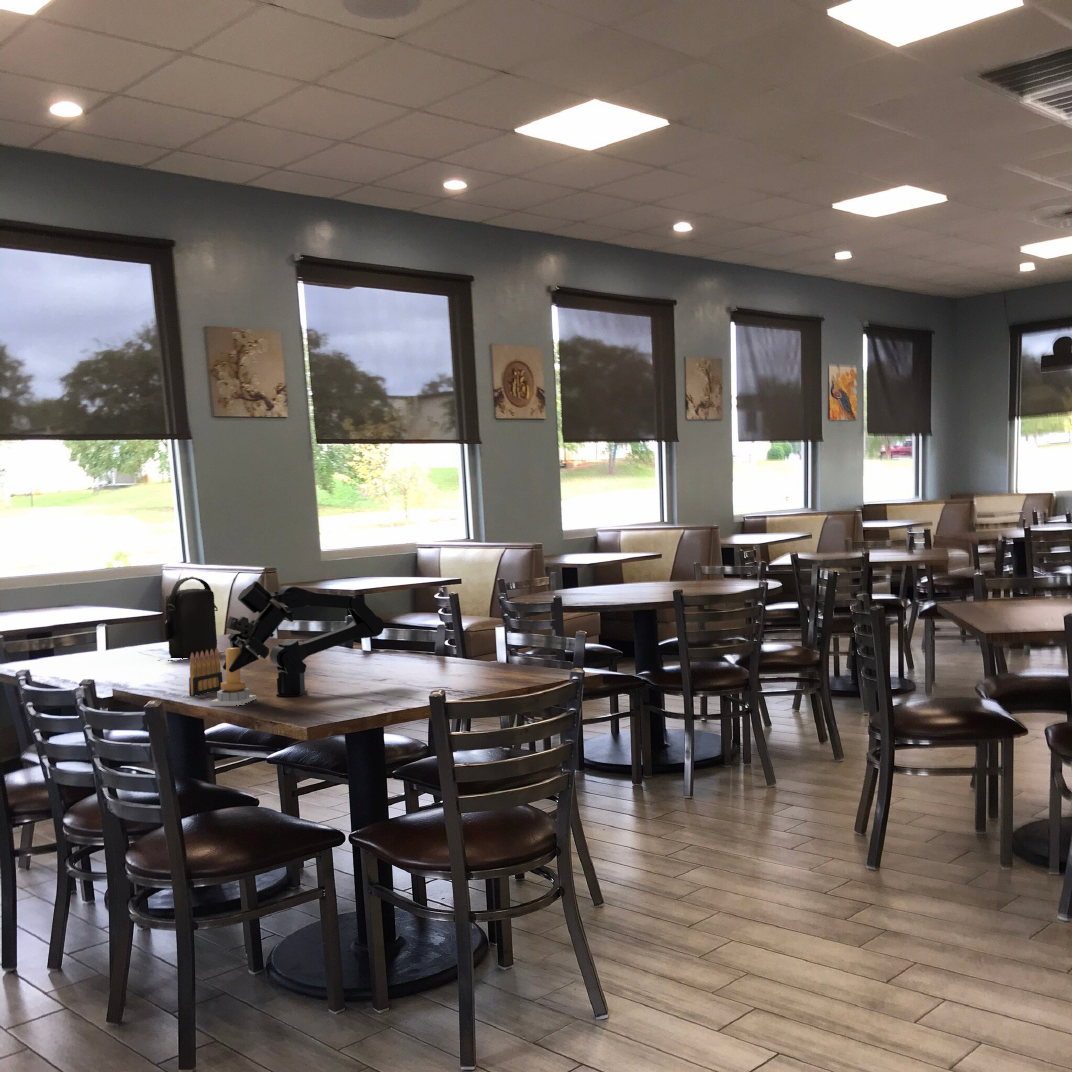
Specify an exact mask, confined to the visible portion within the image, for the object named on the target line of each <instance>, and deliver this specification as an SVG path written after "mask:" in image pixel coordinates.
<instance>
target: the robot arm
mask: <svg viewBox="0 0 1072 1072" xmlns="http://www.w3.org/2000/svg"><path fill="white" fill-rule="evenodd" d="M237 600H238V601H239V602H240V603H241V604H242V605H244V607H246V608H247V609H248V610H249V611H250V612H251V613H252V614H256V613H260V614H259V616H258V617H257V618H256V619H251V620H250V621H249V618H248V617H245V616H240V617H238V618H237V617H234V616H229V617H228V620H227V622H226V624H225V628H226V629H229V630H233V631H235V632H231V633H230V634H229V636H227V639H228V640H229V644H230V648H240V652H239V654H238V655H237V657H236V658H235V660H234V662H233V663H232V665H231V666H230V668H229V671H230V672H231V673H232V672H234V671H236V670H238V669H240V670H241V668H243V667H246V666H248V665H249V664H252V663H254V662H256V661H259V660H260V658H261V659H263V660H265V659H267V657H268V656H269V660H270V663H271V664H272V665H274V666H275V667H276V669H277V671H278V672H277V678H276V690H277V693H276V697H300V696H302V695H305V694H307V693H308V690H306V684H305V683H306V682H305V680H306V679H305V672H306V669H307V664H306V663H304V662H303V661H304V660H306V659H307V658H308V657H310V656H312V655H315V654H318V653H321V652H323V651H325V650H328V649H331V648H334V647H336V646H337V647H338V646H340V645H341V644H342V645H343V644H345V643H347V642H351V641H354V640H358V639H359V640H360V639H361V640H362V639H368V638H374V637H378V636H380V635H382V634H383V631H384V629H385V622H384V621H383V619H382V618H381V617H379V616H378V615H376V614H375V613H374V611H373V610H372V609H371V608H370V607H369V606H368V605H367V603H365V602H364V600H363V599H362V598H361V597H360V596H359V595H354V594H349V595H345V594H335V593H334V594H333V593H324V592H314V591H311V590H307V589H304V588H301V587H297V586H292V585H282V586H281V587H280V588H279V589H278V590H276V591H273V592H272V591H270V592H269V591H267V589H265V588H264V587H263V585H261V583H259V581H257V580H255V581H253V582H252V583H251V584H249V585H248V586H247V587H245V588H244V589H243V590H242V591H240V593H239V595H238V597H237ZM274 603H278V604H279V605H275V604H274ZM285 607H286V608H291V609H296V608H306V607H325V608H326V607H327V608H338V609H347V610H348V612H349V613H350V616H351V618H352V619H353V621H351V622H350V623H349V624H348V625H346V626H343V627H340V628H337V629H335V630H331V631H329V632H326V633H324V634H321V635H318V636H314V637H313V638H310V639H307V640H305V641H301V642H300V641H299V640H298V639H293V638H288V639H286V640H285V641H283V642H277V643H276V645H275V646H274V647H272V648H271V650H270V648H268V647H267V645H265V643H266V642H267V641H268V639H269V638H273V637H274V636H275V634H274V632H275V631H276V630H277V629H278V628H279V626H280V625H281V624H283V622H284V621H287V622H291V623H293V622H294V617H293V611H291V610H290V611H287V610H286V609H285ZM236 631H237V632H236ZM222 670H225V671H226V660H225V662H224V663H223V665H222ZM306 692H307V693H306Z"/></svg>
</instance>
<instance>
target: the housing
mask: <svg viewBox="0 0 1072 1072" xmlns="http://www.w3.org/2000/svg"><path fill="white" fill-rule="evenodd" d="M216 694H217V697H216V698H215V699H213V700H210V701H209V702H210V703H209V705H210V707H240V706H239V705H242V706H244V705H246V704H245V703H247V704H249V703H251V702H250V701H252V700H254V699H256V700H257V695H256V694H250V688H248V687H246V688H245V689H241V691H239V692H231V693H226V690H219V691H216ZM254 701H255V700H254ZM248 702H249V703H248ZM252 702H253V701H252ZM236 705H237V706H236Z"/></svg>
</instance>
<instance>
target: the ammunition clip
mask: <svg viewBox="0 0 1072 1072" xmlns="http://www.w3.org/2000/svg"><path fill="white" fill-rule="evenodd" d="M218 651H219V649H218V647H217V648H216V650H215V653H214V652H213V650H212V649H211V651H210V655H209V653H208V650H206V653H205V656H204V653H203V651H201V654H200V657H199V653H198V652H196V656H195V658H194V654H193V652H192V653H191V657H190V659H189V662H190V665H189V677H188V681H189V683H188V684H189V685H188V689H189V694H188V695H190V697H196V696H195V695H198V696H201V695H200V694H202V695H205V694H204V693H207V692H211V693H213V692H212V691H215V692H217V690H221V683H222V682H224V681H223V672H222V671H221V661H220V660H221V659H220V653H219V652H218ZM207 694H208V693H207Z"/></svg>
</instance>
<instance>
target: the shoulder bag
mask: <svg viewBox="0 0 1072 1072" xmlns="http://www.w3.org/2000/svg"><path fill="white" fill-rule="evenodd" d="M189 580H196V581H198V582H199V583H201V585H203V587H204V588H185V589H180V590H179V588H180V587H181V585H184V583H185V582H187V581H189ZM218 611H219V610H218V607H217V605H216V603H215V594H214V592H213V590H212V589H211V586H210V584H209V583H208V582H207V581H205V580H204V579H201V578H200V577H199V578H198V577H194V576H190V577H184V578H181V579H179V580H177V581H176V582H175V583H174V585H173V586H172V590H171V593H168V595H166V596H165V622H164V638H165V641H168V653H169V655H170V658H182V659H183V658H190V657H191V653H192V652H193V654H194V657H195V656H196V652H198V653H199V658H200V654H201V651H203V653H204V657H205V653H206V650H208V653H209V656H210V651H211V649H212V650H213V652H214V654H215V650H216V648H217V649H218V638H217V627H216V625H217V624H216V612H218ZM218 652H219V654H220V653H224V652H225V653H226V650H225V651H223V650H218ZM160 660H161V659H157V661H159V662H161V661H160Z"/></svg>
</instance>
